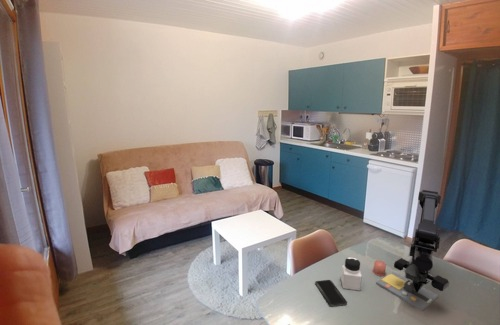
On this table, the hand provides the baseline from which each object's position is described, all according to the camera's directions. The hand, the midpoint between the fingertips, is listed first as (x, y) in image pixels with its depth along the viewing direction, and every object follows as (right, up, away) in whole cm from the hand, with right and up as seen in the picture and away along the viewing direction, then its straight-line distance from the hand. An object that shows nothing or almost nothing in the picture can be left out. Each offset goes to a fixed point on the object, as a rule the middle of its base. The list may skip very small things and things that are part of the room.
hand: (417, 291), depth 111 cm
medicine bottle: (-25, -1, +7) cm, 26 cm away
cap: (-8, +1, +16) cm, 18 cm away
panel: (-2, -1, +4) cm, 5 cm away
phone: (-36, -2, +2) cm, 36 cm away
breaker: (-2, 0, +3) cm, 3 cm away
